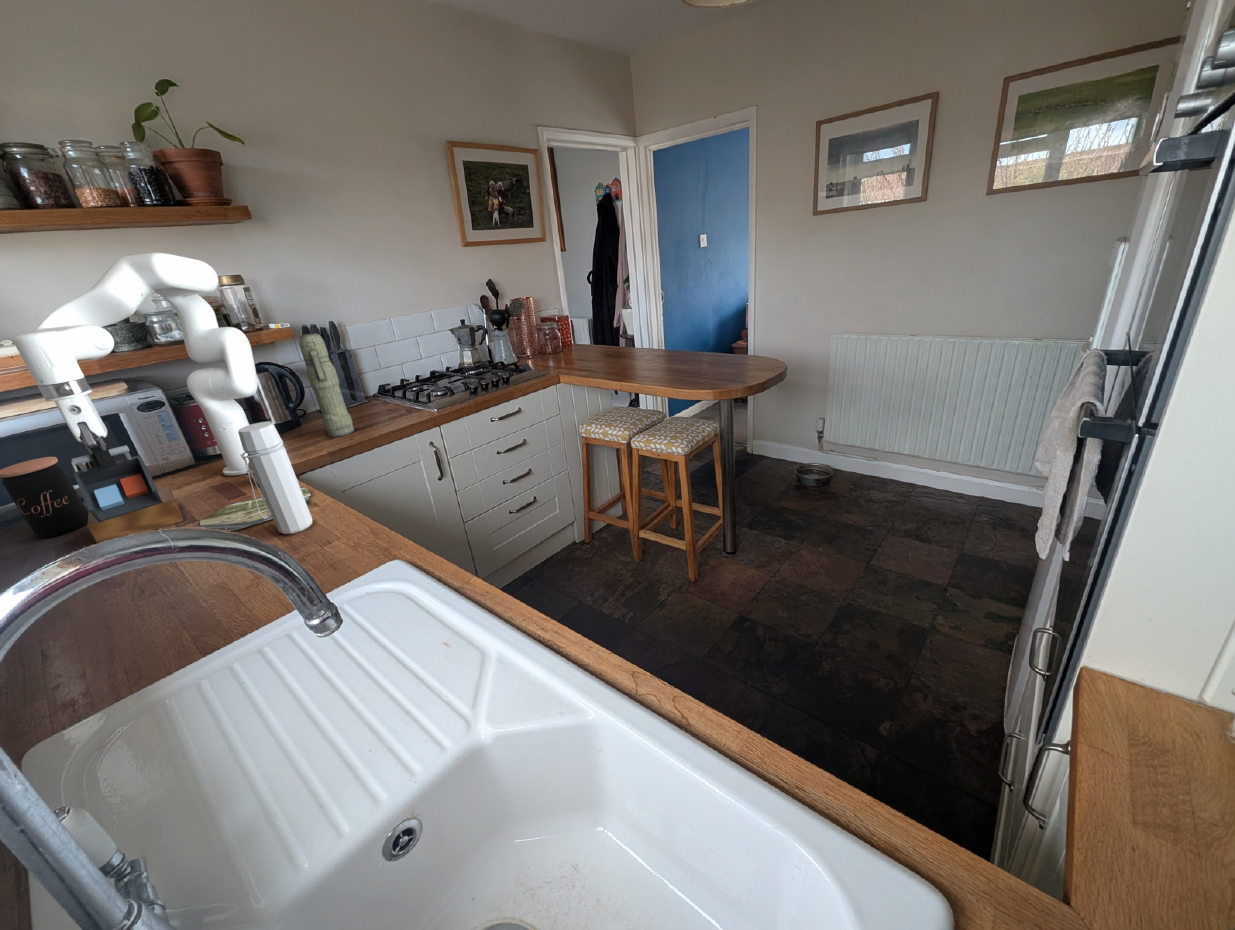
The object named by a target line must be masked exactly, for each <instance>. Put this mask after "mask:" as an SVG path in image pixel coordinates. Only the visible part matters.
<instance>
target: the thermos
mask: <svg viewBox="0 0 1235 930" xmlns="http://www.w3.org/2000/svg"><path fill="white" fill-rule="evenodd" d="M298 345H299V349H300V352H301V354H302V358H303V360H304V362H305V367H306V376H307V378H308V381H309V384H310V388H311V389H312V390H313V391H314V394H315V397H316V400H317V402H318V405H319V408H320V412H321V414H322V422H323V425H324V428H325V430H326V431H327V435H328V437H331V438H335V437H336V438H337V437H342V436H346V435H349V434H352V433H353V432H354V431H355V427H354V425H353V423H354V422H353V419H352V416H351V414H350V413H349V412H348V410H347V406H346V402H345V400H344V396H343V394H342V390H341V387H340V380H339V377H338V373H337V371H336V367H335V365H333V363H332V361H331V359H330V357H329V356H330V355H329V351H328V349H327V346H326V343H325V340H324V339H323V337H322V336H321V335H320V333H317V332H313V333H312V332H311V333H305V334H302V335H301V336H299V338H298Z"/></svg>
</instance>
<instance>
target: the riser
mask: <svg viewBox="0 0 1235 930" xmlns="http://www.w3.org/2000/svg"><path fill="white" fill-rule="evenodd" d="M157 491H158V493H159V495H160V497H161V499H162V502H163V503H160V504H157V505H154V506H150V507H147V508H144V509H141V510H137V511H134V512H131V513H128V514H125V515H121V516H118V517H115V518H112V519H108V520H105V521H102V522H98V521H97V520H96V519H95V518H94V516H93V515H92V514H91V513H90V512H89V511H88V523H87V524H86V525H87V528H88V530H89V532H90V534H91V535H92V537H93V539H94V541H95V542H96V543H97V542H100V541H104V540H107V539H111V538H112V537H119V536H121V535H124V534H132V533H135V532H141V531H147V530H154V531H156V530H159V529H163V528H166V527H169V526H172V525H175V524H178V523H180V522H183V521H184V518H183V515H182V512H181V509H180V507H179V504H178V502H177V500H176V498H175V496H174V494H173V492H172V490H171V488H170V486H169V485H165V486H161V487H158V488H157Z"/></svg>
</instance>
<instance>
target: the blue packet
mask: <svg viewBox="0 0 1235 930" xmlns="http://www.w3.org/2000/svg"><path fill="white" fill-rule="evenodd" d="M94 493H95V496H96V498H97V501H98V503H99V505H100V508H101V509H102V510H105V509H108V508H112V507H115V506H118V505H122V504H124V501H123V499H122V496H121V494H120V492H119V489H118V487H117V486H116V484H115V485H111V486H108V487H104V488H100V489H97V490H94Z"/></svg>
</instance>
